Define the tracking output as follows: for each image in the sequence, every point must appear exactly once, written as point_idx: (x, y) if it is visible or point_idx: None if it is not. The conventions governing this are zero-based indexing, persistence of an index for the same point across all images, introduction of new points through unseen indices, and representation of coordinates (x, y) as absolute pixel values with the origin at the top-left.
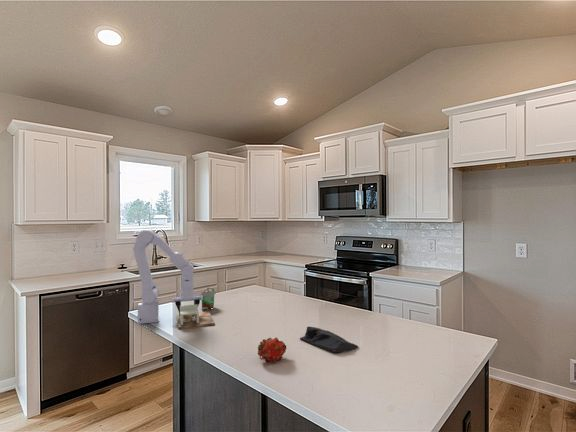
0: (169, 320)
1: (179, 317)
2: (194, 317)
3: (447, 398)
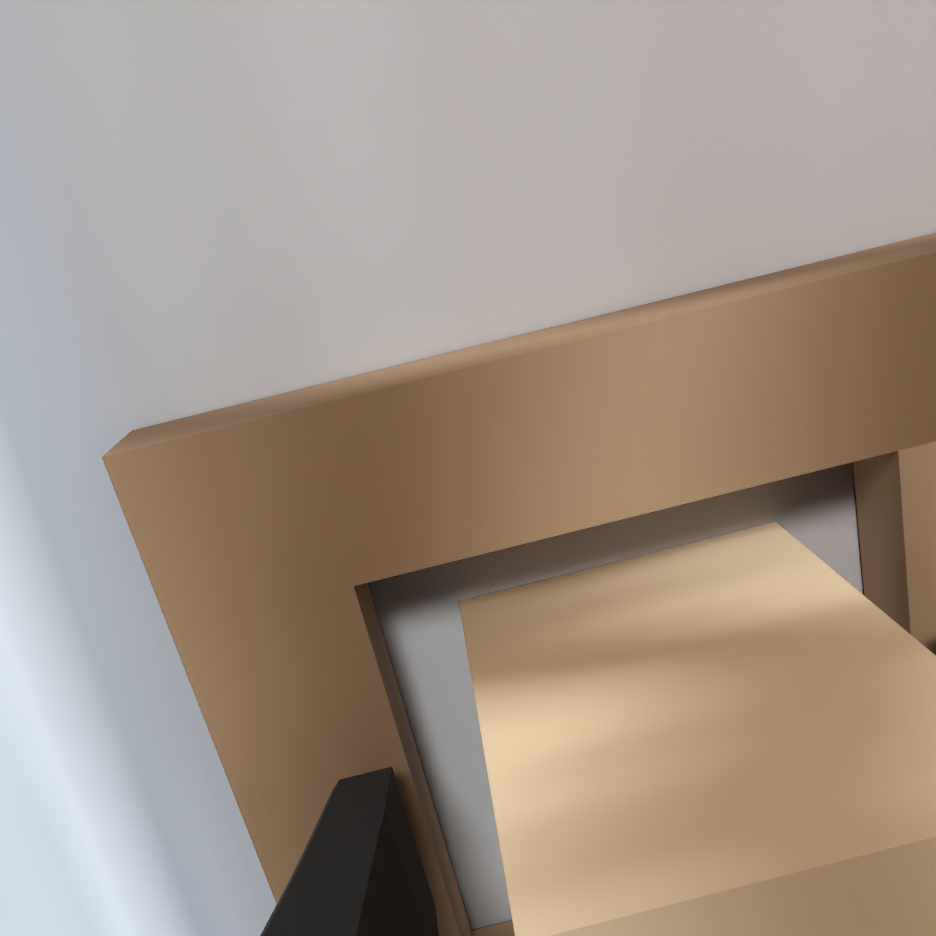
0: (8, 850)
1: None
2: None
3: None
